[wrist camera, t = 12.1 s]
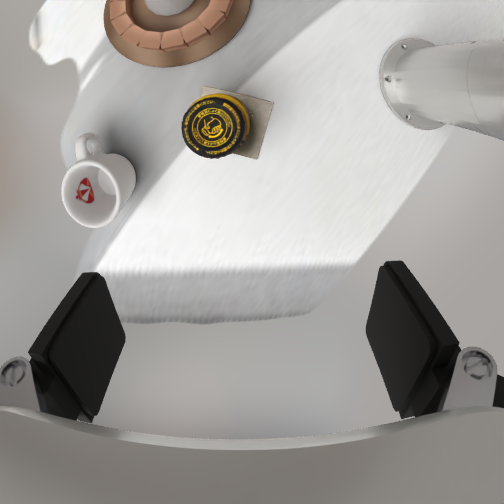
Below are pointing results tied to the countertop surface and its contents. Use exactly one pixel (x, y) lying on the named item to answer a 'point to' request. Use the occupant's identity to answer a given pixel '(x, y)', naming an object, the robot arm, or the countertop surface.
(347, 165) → the countertop surface
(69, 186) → the cup
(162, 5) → the salt shaker
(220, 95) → the condiment
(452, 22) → the countertop surface
